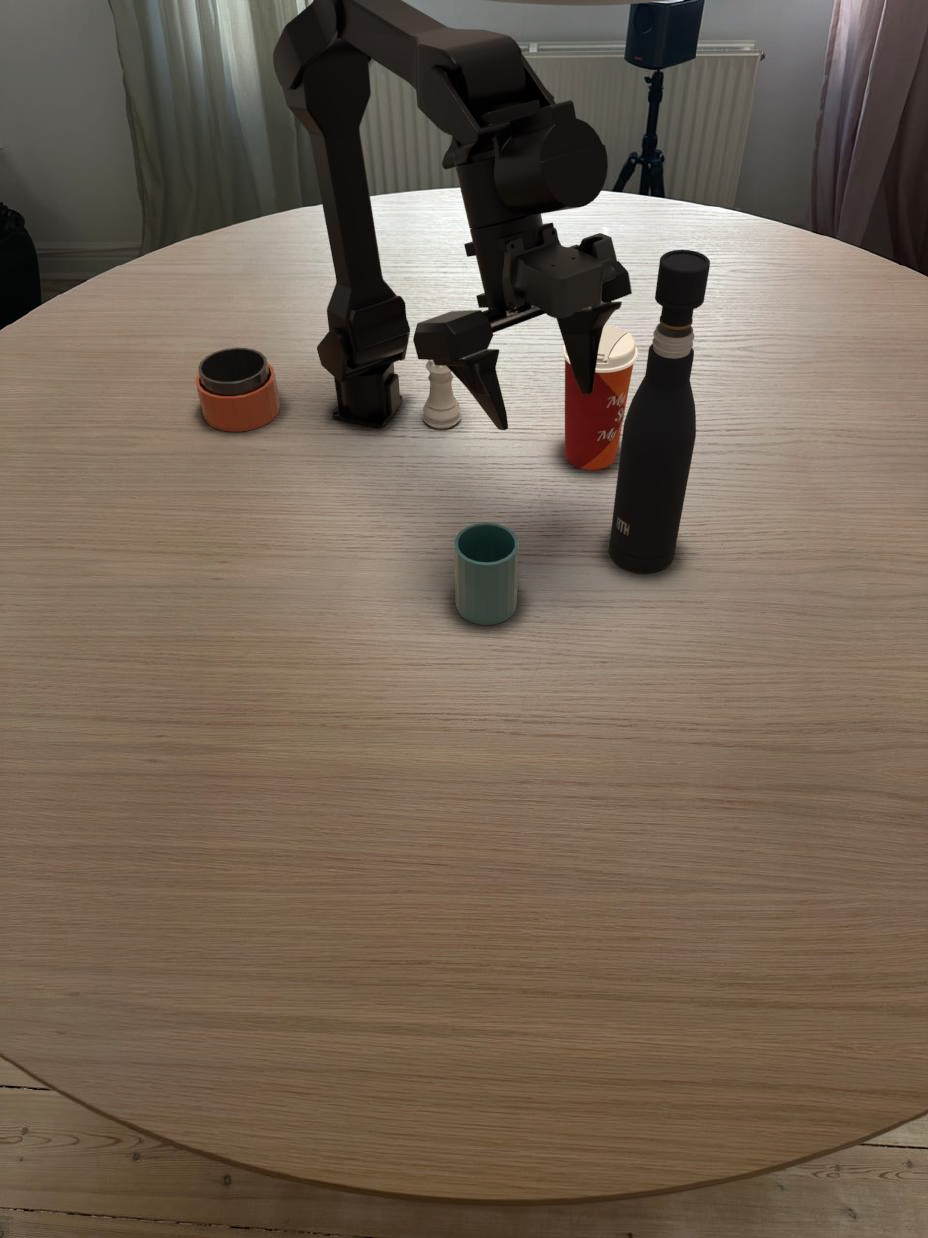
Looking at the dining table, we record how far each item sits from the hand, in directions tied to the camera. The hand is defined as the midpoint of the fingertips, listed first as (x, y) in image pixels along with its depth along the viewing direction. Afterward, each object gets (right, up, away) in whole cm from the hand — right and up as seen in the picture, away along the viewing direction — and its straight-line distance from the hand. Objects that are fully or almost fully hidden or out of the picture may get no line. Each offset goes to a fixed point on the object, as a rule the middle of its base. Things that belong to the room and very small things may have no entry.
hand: (546, 411), depth 84 cm
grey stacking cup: (-33, +7, +32) cm, 47 cm away
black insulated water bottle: (+11, -11, +13) cm, 20 cm away
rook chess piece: (-10, +5, +30) cm, 32 cm away
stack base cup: (-33, +7, +32) cm, 47 cm away
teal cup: (-5, -16, +9) cm, 19 cm away
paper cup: (+7, 0, +25) cm, 26 cm away
